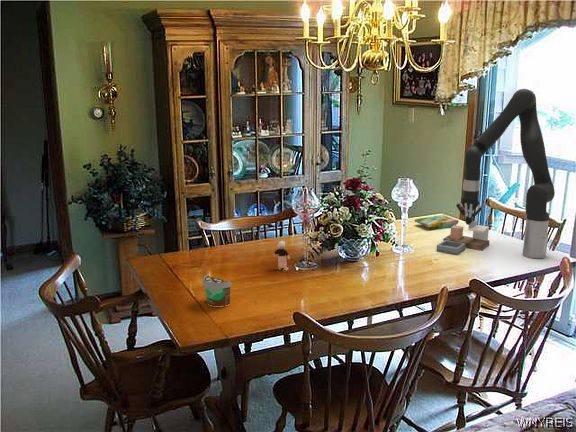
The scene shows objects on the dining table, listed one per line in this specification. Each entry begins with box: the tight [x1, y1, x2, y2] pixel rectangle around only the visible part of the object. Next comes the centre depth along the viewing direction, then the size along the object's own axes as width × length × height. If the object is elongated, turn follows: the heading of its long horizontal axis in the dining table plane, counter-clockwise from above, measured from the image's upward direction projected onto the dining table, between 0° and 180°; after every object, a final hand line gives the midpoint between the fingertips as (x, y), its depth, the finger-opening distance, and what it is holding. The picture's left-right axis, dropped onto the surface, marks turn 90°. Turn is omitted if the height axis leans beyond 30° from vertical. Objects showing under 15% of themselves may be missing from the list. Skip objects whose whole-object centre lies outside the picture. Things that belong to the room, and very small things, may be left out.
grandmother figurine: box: [272, 240, 291, 271], centre depth 237 cm, size 8×4×13 cm, turn 74°
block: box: [449, 225, 464, 240], centre depth 270 cm, size 4×4×8 cm
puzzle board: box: [442, 234, 491, 252], centre depth 268 cm, size 19×10×2 cm, turn 53°
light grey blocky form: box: [467, 220, 490, 241], centre depth 264 cm, size 7×8×9 cm
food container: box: [202, 273, 232, 306], centre depth 202 cm, size 12×6×10 cm, turn 52°
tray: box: [435, 240, 466, 256], centre depth 260 cm, size 10×10×3 cm
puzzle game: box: [414, 214, 459, 230], centre depth 299 cm, size 12×5×20 cm
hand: (468, 224), depth 266 cm, fingers closed
